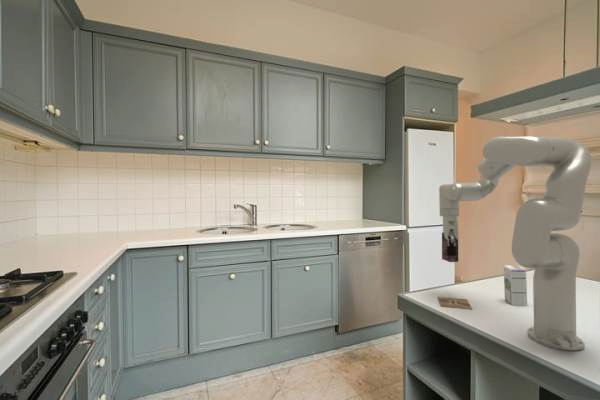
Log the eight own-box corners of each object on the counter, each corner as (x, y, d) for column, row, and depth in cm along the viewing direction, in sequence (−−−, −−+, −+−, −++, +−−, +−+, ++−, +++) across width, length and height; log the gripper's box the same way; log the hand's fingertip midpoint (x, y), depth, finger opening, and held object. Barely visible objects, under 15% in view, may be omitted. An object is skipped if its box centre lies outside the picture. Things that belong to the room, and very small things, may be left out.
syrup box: (528, 305, 113) (527, 268, 113) (510, 305, 114) (510, 268, 114) (520, 300, 118) (519, 265, 118) (503, 300, 119) (503, 264, 119)
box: (459, 262, 123) (458, 233, 123) (448, 262, 123) (448, 233, 122) (451, 259, 129) (450, 232, 129) (441, 259, 129) (440, 232, 128)
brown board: (472, 309, 110) (472, 308, 110) (440, 306, 114) (440, 305, 114) (466, 299, 121) (466, 299, 121) (437, 297, 124) (437, 296, 124)
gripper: (462, 213, 116) (463, 258, 116) (455, 211, 132) (456, 250, 132) (442, 213, 119) (443, 257, 119) (437, 211, 135) (438, 250, 135)
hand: (450, 253), depth 125 cm, fingers closed on box, 6 cm apart
